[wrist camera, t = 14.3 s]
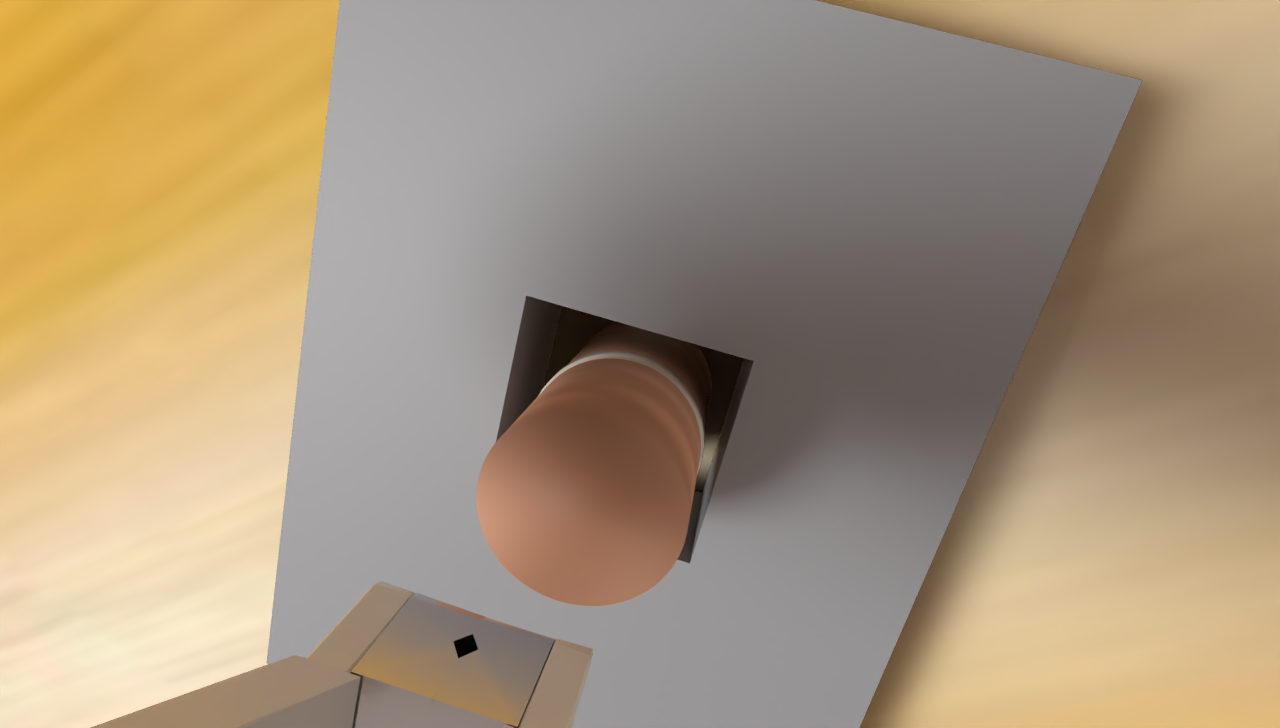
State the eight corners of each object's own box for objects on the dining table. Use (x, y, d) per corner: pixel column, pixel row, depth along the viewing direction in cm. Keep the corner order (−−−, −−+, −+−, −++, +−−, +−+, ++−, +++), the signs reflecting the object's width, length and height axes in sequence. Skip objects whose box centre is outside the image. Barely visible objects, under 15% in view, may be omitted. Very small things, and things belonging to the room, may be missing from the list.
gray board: (1057, 98, 17) (1142, 79, 13) (798, 735, 23) (806, 848, 19) (435, -57, 18) (352, -114, 15) (343, 585, 24) (266, 663, 21)
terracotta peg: (731, 338, 20) (718, 444, 12) (691, 467, 21) (657, 635, 14) (591, 298, 20) (496, 376, 13) (560, 427, 22) (456, 570, 14)
